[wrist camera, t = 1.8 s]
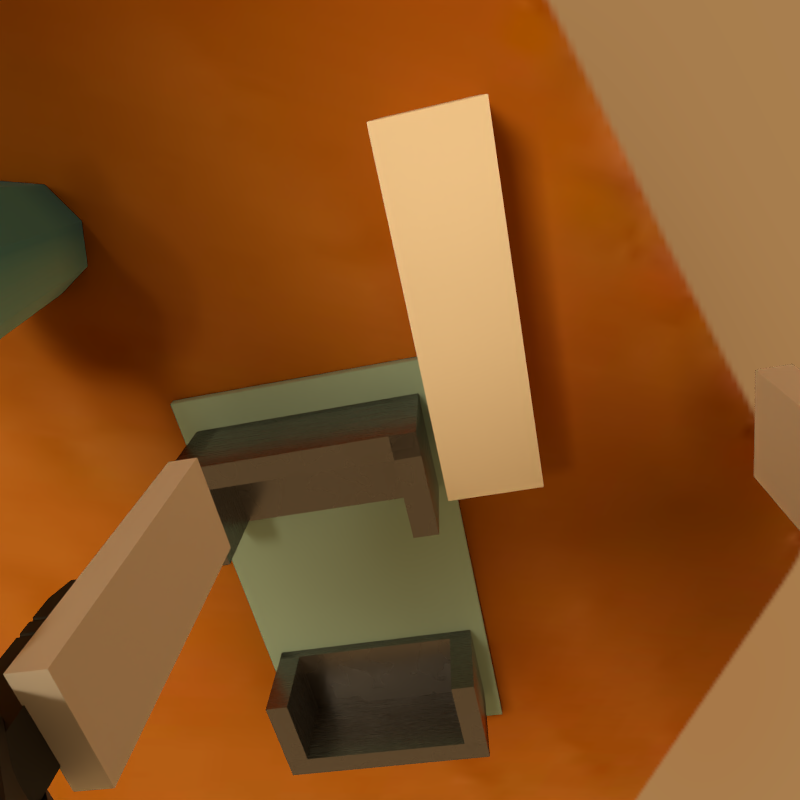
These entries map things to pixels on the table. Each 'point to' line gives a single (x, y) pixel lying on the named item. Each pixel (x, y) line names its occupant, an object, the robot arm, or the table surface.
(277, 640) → the mat
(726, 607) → the table surface
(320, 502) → the grey u-shaped bracket
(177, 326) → the table surface
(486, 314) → the slat
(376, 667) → the cap
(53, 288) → the cup
